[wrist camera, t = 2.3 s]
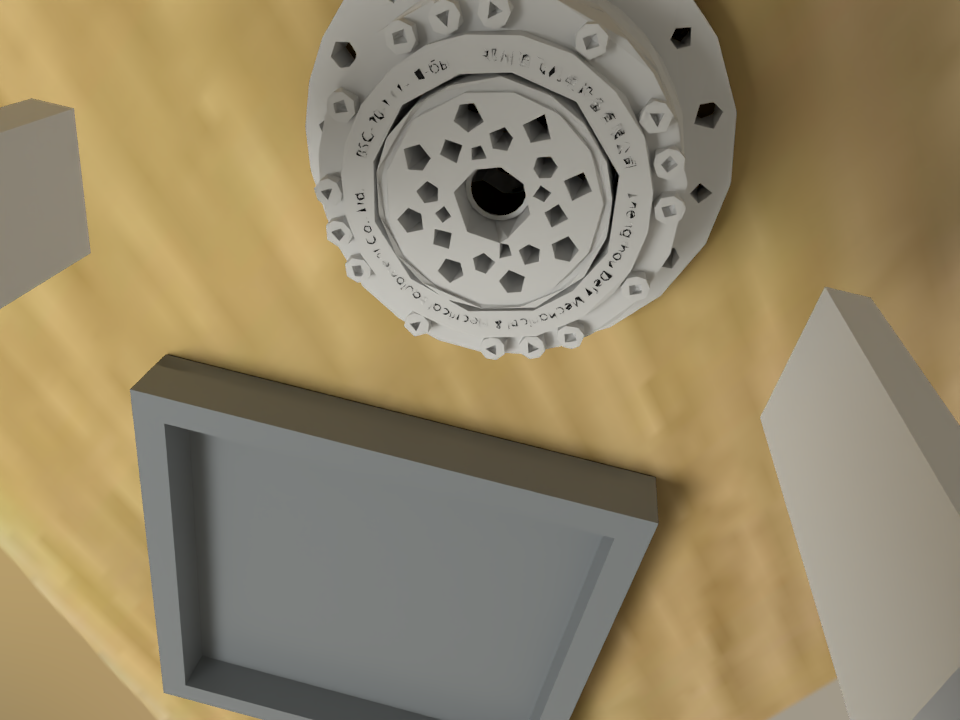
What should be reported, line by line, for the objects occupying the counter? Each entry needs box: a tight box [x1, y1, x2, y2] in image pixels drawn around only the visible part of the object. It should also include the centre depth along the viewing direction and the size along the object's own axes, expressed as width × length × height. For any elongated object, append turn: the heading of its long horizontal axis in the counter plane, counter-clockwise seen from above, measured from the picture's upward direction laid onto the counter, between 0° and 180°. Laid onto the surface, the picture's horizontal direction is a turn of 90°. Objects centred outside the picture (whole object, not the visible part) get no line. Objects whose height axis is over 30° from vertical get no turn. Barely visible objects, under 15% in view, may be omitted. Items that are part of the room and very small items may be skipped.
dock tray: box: [130, 355, 658, 720], centre depth 26 cm, size 16×16×2 cm
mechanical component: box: [306, 0, 737, 360], centre depth 16 cm, size 10×4×10 cm
